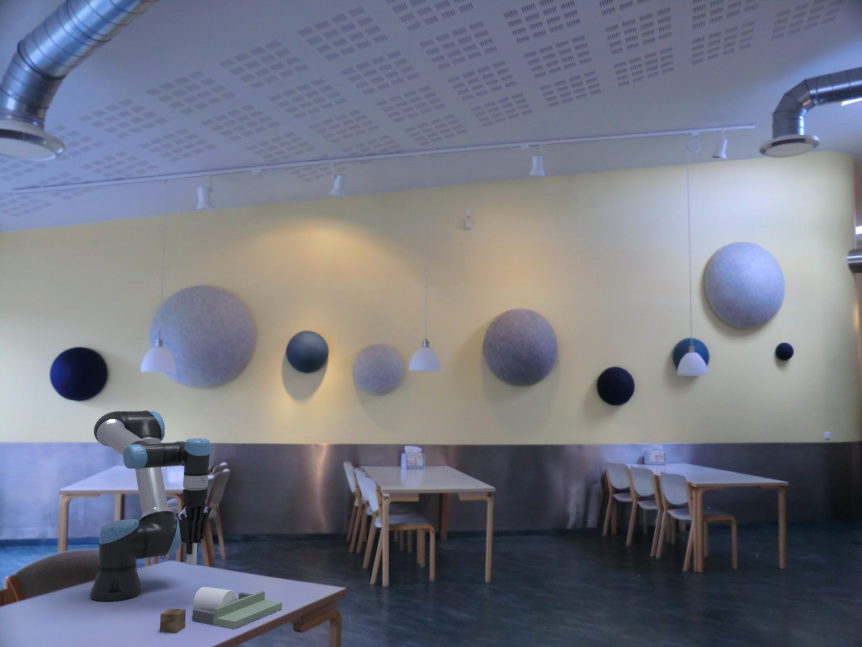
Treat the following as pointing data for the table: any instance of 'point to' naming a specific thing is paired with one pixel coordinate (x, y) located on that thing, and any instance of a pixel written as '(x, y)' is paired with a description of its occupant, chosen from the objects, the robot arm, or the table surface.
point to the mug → (213, 598)
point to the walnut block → (172, 620)
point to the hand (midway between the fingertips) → (191, 564)
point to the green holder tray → (238, 611)
